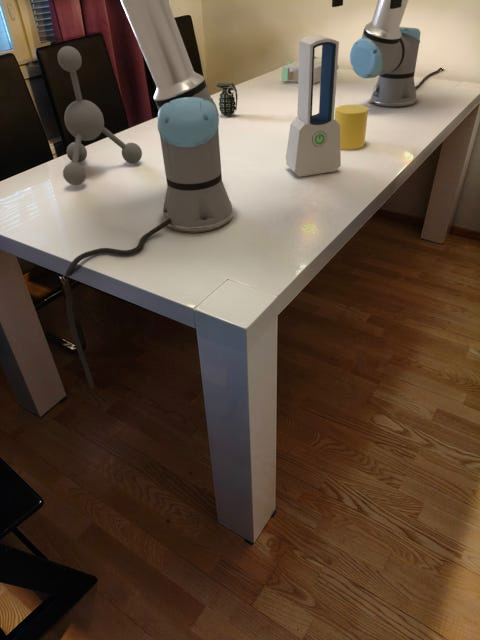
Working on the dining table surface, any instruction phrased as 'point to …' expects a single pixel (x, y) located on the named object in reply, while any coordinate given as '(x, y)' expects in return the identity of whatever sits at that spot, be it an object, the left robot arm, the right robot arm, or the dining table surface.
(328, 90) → the electronic device
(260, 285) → the dining table surface
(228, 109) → the grenade
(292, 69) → the decorative block
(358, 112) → the canister
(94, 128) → the molecular model
